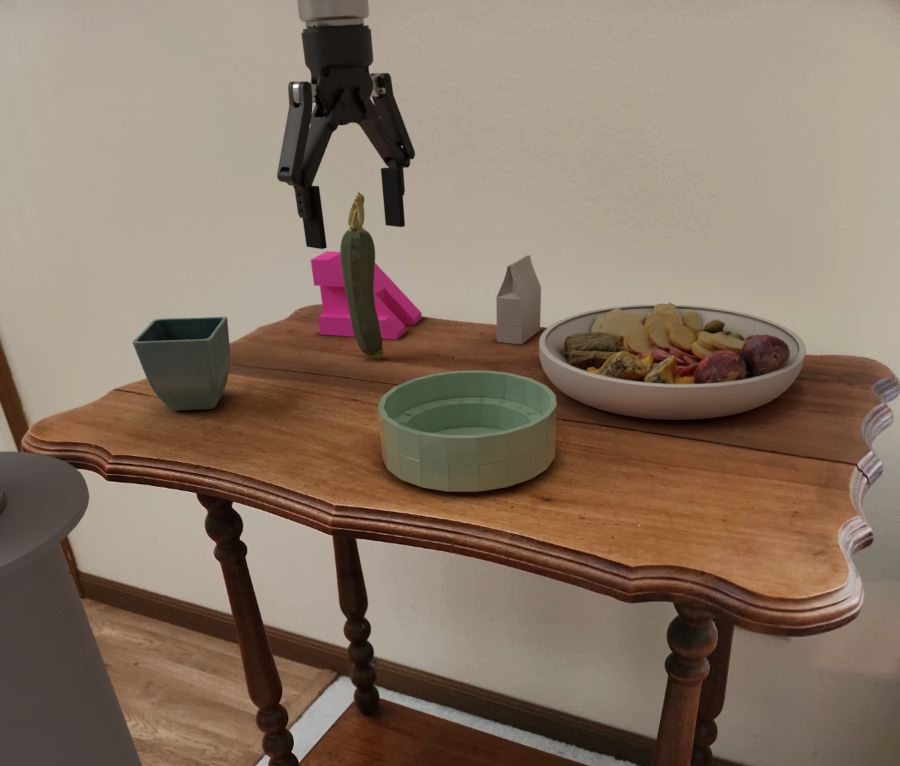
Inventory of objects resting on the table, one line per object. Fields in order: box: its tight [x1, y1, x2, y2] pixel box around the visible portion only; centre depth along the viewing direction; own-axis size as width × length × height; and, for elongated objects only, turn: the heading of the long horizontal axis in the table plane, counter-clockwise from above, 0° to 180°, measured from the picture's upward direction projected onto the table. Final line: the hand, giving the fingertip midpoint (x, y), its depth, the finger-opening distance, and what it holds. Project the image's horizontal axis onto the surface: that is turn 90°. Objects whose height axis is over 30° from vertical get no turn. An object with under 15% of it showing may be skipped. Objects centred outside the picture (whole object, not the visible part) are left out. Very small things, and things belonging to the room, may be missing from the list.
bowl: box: [538, 302, 807, 421], centre depth 95 cm, size 30×30×8 cm
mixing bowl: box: [377, 369, 558, 493], centre depth 80 cm, size 17×17×6 cm
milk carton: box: [495, 254, 542, 345], centre depth 111 cm, size 4×7×10 cm, turn 153°
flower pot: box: [132, 316, 231, 411], centre depth 94 cm, size 9×9×9 cm
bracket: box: [310, 250, 423, 340], centre depth 117 cm, size 12×10×10 cm
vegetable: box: [339, 192, 384, 360], centre depth 102 cm, size 4×4×20 cm
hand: (357, 236), depth 99 cm, fingers open, 13 cm apart
